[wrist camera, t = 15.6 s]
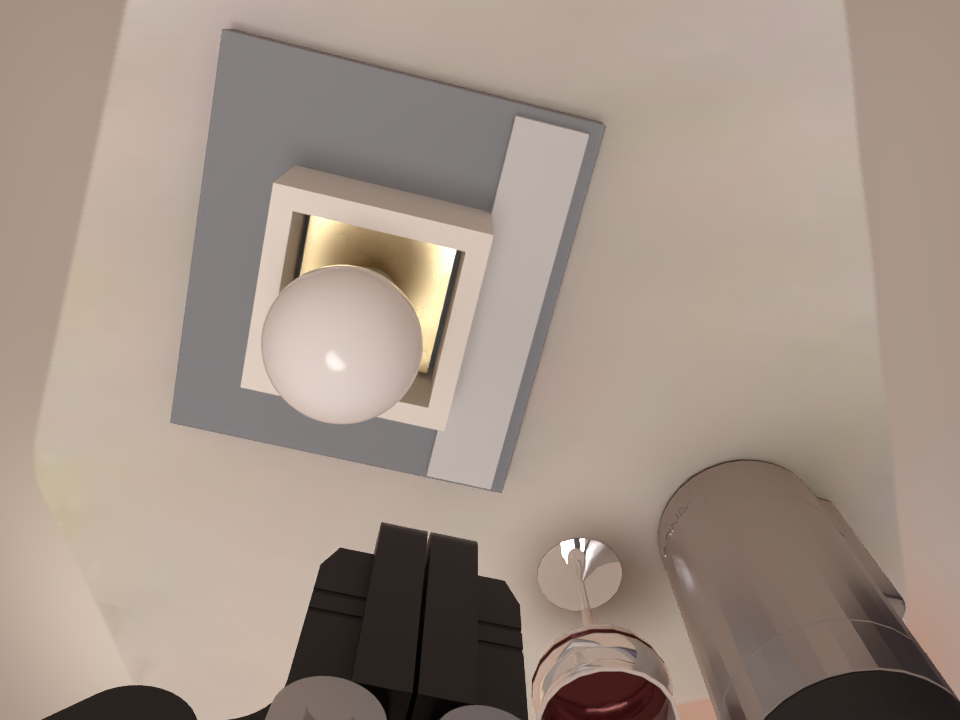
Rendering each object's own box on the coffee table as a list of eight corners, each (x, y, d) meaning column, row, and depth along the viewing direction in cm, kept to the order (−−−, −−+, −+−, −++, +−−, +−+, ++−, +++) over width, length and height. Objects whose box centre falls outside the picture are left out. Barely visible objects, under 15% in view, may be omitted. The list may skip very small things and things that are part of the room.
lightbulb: (460, 317, 43) (445, 407, 33) (348, 373, 45) (300, 477, 34) (395, 201, 42) (358, 258, 31) (280, 263, 43) (207, 338, 32)
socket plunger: (459, 231, 44) (459, 238, 42) (428, 362, 46) (427, 373, 45) (317, 198, 43) (312, 204, 42) (293, 332, 46) (288, 342, 44)
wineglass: (601, 639, 54) (634, 801, 43) (501, 596, 53) (508, 751, 42) (659, 553, 52) (709, 699, 41) (556, 506, 51) (579, 644, 40)
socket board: (601, 122, 43) (621, 138, 37) (500, 479, 50) (504, 543, 44) (230, 29, 42) (188, 30, 36) (179, 411, 49) (136, 466, 43)
